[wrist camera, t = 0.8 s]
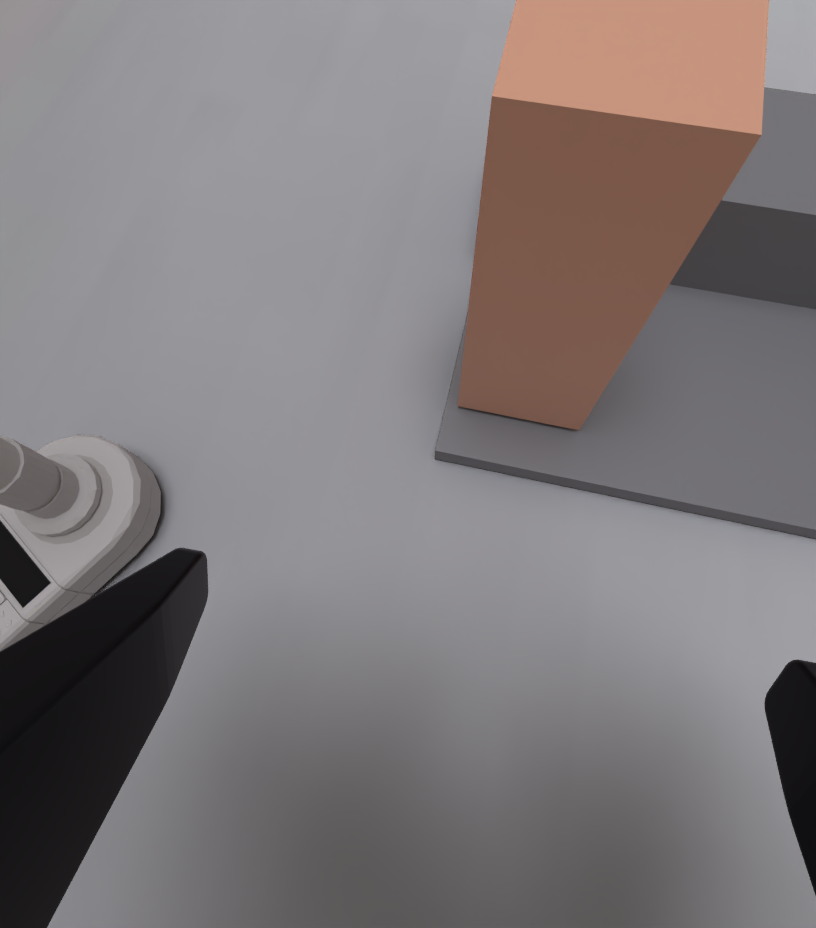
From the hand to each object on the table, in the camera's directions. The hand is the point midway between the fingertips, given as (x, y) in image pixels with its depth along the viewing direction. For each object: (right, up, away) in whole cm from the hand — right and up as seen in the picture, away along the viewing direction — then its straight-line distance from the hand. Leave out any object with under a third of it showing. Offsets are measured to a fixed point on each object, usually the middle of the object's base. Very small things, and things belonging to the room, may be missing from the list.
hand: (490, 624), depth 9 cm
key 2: (+4, +6, +16) cm, 17 cm away
